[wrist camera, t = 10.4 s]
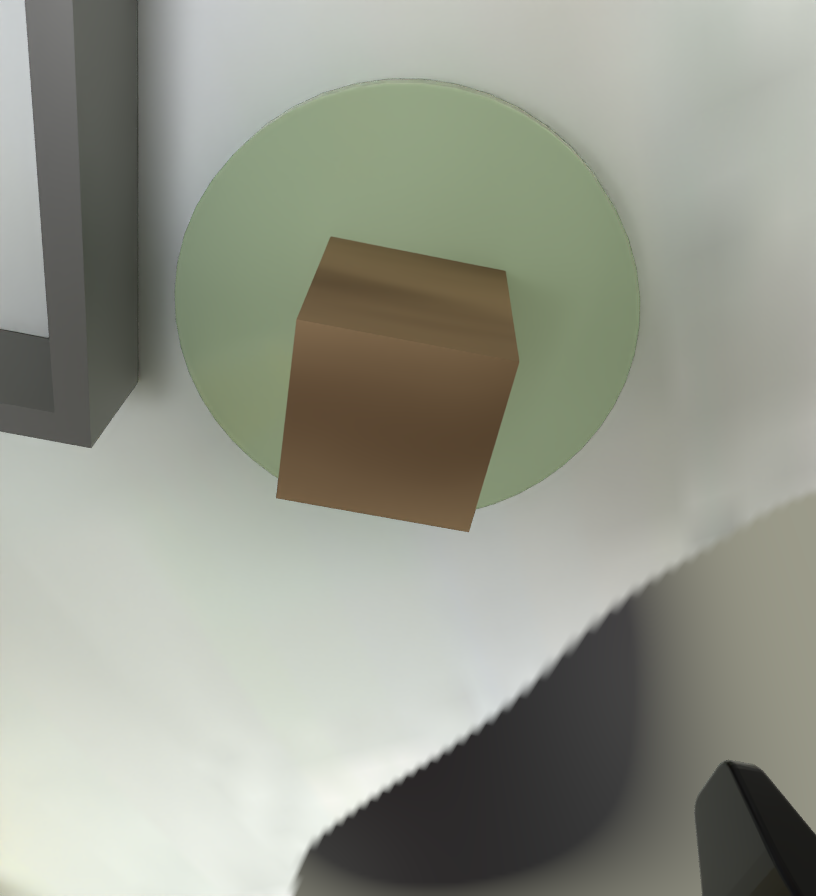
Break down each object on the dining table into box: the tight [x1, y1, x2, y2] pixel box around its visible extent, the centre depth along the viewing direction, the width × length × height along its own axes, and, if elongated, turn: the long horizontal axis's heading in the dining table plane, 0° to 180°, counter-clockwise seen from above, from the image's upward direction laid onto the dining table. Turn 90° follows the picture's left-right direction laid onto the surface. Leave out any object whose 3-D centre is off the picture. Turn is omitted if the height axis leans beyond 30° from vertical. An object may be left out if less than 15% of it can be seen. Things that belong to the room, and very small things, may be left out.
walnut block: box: [276, 236, 519, 532], centre depth 17 cm, size 4×4×4 cm
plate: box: [175, 79, 640, 509], centre depth 19 cm, size 11×11×1 cm
